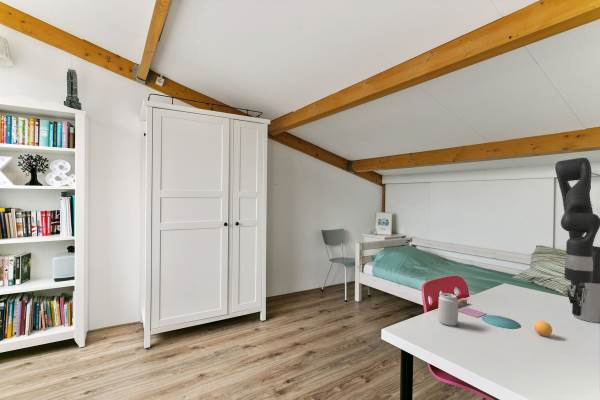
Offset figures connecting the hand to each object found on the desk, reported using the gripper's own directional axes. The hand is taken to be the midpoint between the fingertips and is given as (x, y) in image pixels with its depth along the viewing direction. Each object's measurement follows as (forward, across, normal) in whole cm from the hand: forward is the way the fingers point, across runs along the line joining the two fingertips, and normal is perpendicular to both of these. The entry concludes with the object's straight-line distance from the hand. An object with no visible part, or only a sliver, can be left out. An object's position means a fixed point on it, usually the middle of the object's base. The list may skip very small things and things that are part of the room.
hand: (576, 315), depth 109 cm
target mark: (+11, 0, -25) cm, 27 cm away
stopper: (+12, 0, -45) cm, 47 cm away
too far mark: (+11, 0, -37) cm, 39 cm away
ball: (+9, 0, -10) cm, 13 cm away
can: (+12, +22, -36) cm, 44 cm away
